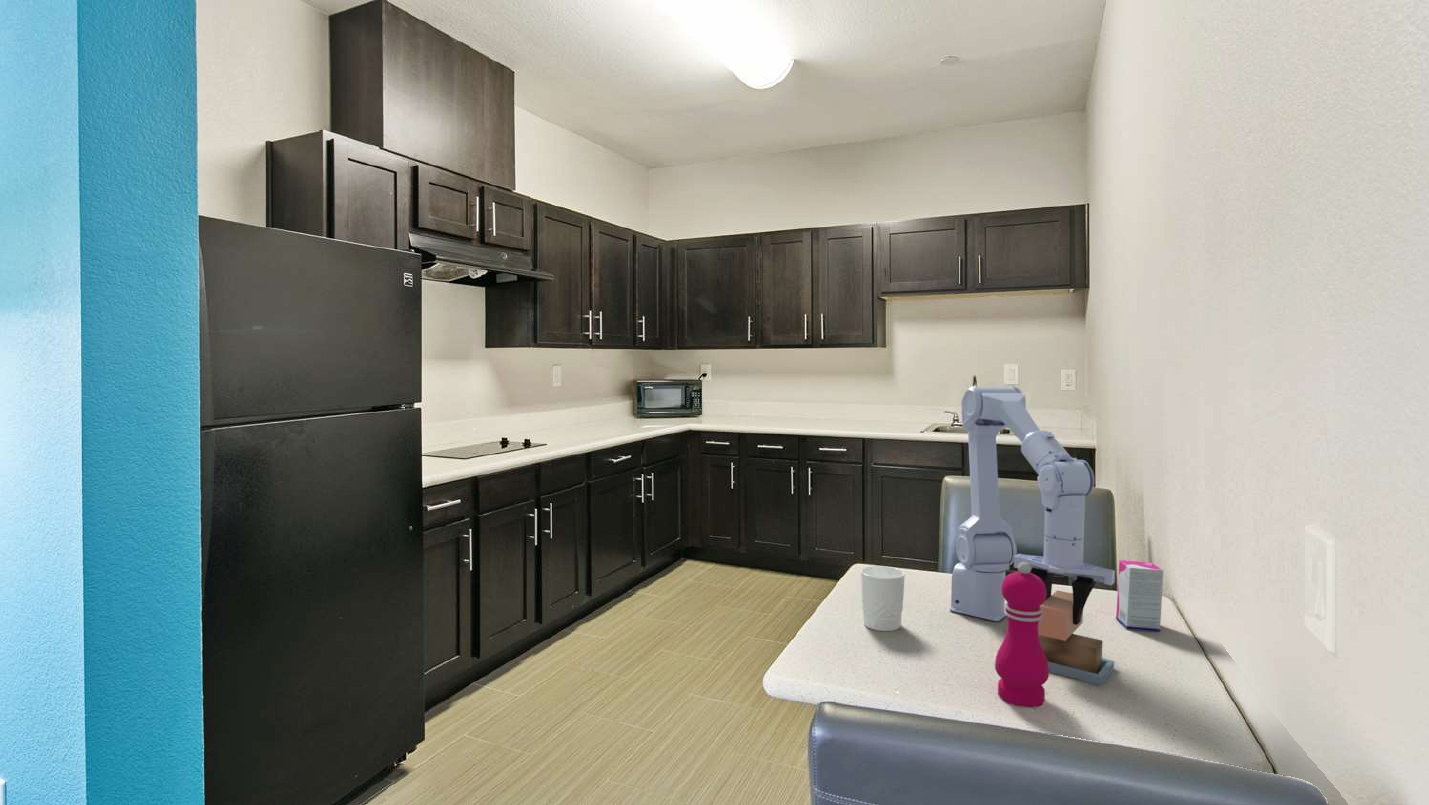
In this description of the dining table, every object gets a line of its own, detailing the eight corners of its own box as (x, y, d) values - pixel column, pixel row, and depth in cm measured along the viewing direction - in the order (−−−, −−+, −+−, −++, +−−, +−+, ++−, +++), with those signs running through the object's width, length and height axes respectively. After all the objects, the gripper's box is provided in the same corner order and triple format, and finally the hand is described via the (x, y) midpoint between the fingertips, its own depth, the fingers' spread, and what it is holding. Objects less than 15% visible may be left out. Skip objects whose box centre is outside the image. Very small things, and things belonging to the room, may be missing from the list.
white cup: (856, 629, 131) (857, 575, 130) (864, 615, 138) (865, 564, 138) (900, 635, 128) (901, 580, 127) (906, 620, 135) (907, 568, 135)
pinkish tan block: (1038, 634, 113) (1038, 605, 113) (1056, 617, 120) (1057, 590, 120) (1065, 641, 110) (1066, 611, 110) (1082, 623, 118) (1083, 595, 117)
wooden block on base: (1021, 660, 118) (1022, 630, 117) (1029, 653, 121) (1029, 624, 120) (1095, 680, 111) (1096, 648, 110) (1101, 671, 114) (1102, 640, 113)
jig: (995, 664, 116) (995, 657, 115) (1023, 639, 126) (1023, 632, 126) (1096, 692, 106) (1097, 684, 106) (1118, 662, 117) (1118, 655, 116)
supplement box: (1161, 632, 130) (1164, 570, 129) (1125, 629, 131) (1128, 568, 130) (1149, 620, 135) (1151, 561, 135) (1115, 618, 136) (1117, 559, 136)
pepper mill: (985, 687, 108) (988, 556, 106) (1031, 685, 108) (1035, 555, 107) (1009, 710, 100) (1012, 570, 99) (1058, 708, 101) (1062, 569, 100)
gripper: (1008, 533, 116) (1006, 615, 117) (1108, 548, 107) (1105, 638, 108) (1022, 525, 122) (1020, 604, 122) (1119, 539, 112) (1116, 624, 113)
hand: (1061, 619), depth 115 cm, fingers closed on pinkish tan block, 4 cm apart
